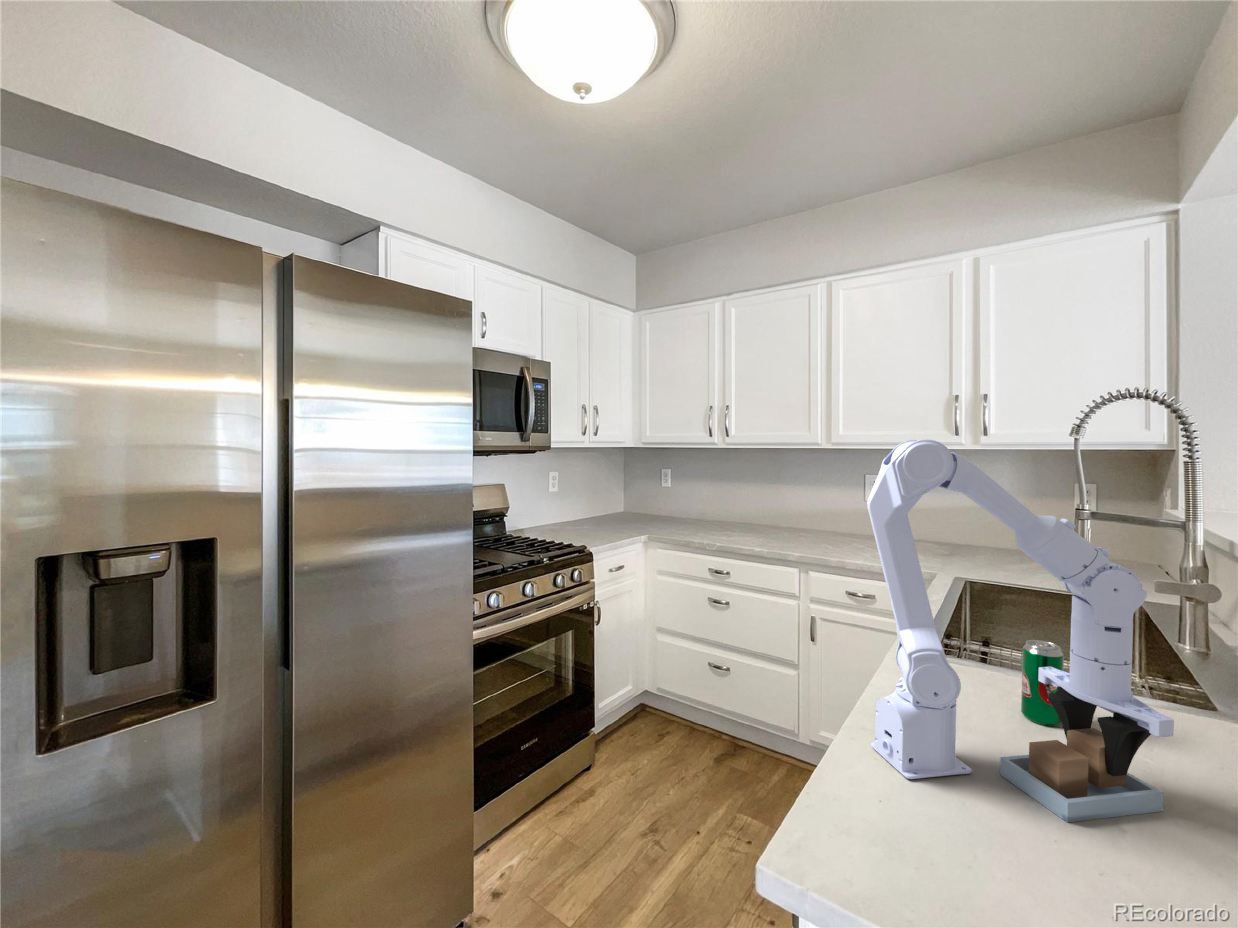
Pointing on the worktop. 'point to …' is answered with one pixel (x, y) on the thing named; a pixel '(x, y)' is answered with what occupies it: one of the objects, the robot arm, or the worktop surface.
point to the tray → (1094, 806)
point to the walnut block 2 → (1094, 756)
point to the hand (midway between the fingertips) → (1097, 762)
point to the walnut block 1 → (1059, 768)
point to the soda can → (1035, 691)
